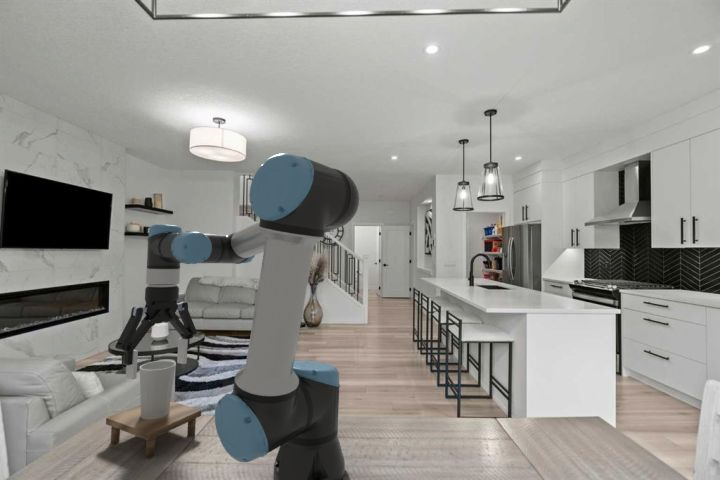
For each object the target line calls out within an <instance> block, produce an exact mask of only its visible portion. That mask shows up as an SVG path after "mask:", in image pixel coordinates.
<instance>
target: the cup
mask: <svg viewBox="0 0 720 480" xmlns="http://www.w3.org/2000/svg"><path fill="white" fill-rule="evenodd" d="M176 365H177V362H176V361H172V360H156V361H150V362H146V363H144V364H142V365H140V366H139V388H140V389H139V390H140V405H141V418H142V419H146V420H151V419H158V418H161V417H164V416H166V415H168V414H169V412H170V402H171V401H172V394H173V393H172V392H173V386H174V378H175V373H176Z"/></svg>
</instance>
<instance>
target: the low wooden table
mask: <svg viewBox="0 0 720 480" xmlns="http://www.w3.org/2000/svg"><path fill="white" fill-rule="evenodd" d="M201 416H202V409H200V408H196V407H192V406H189V405H185V404H182V403H179V402H175V401H172V400H171V402H170V412H169V414H168V415H166V416H164V417H161V418H158V419H151V420H146V419H142V418H141V404H140V405H137V406H134V407H131V408H129V409H127V410H124V411H121V412H118V413H115V414H113V415H111V416H108V417H106V418H105V425H106V426H109V427H111V428H110V431H111V432H110V444H111V445H115V444H118V443H120V439H121V431H123V432H126V433H128V434H132V435H134V436H136V437H139V438H141V439H144V440H145V456H144V457H145V459H152V458H154V457H155V455H156V453H155V451H156V438H157V437H159V436H161V435H163V434H166V433H168V432H170V431H172V430H175V429H176V428H179V427H180V426H183V425H185V424H187V431H186V432H187V433H186V435H187V437H189V438H191V437H194V436H195V435H196V420H197V418H199V417H201Z"/></svg>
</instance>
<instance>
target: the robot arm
mask: <svg viewBox="0 0 720 480" xmlns="http://www.w3.org/2000/svg"><path fill="white" fill-rule="evenodd" d="M248 195H249V203H250V204H251V207H250V208H251V210H252V213H254V215H256V216H257V217H258V218H259V221H256V222H254V223H252V224H250V225H248V226H246V227H243V228H242V229H240V230H237V231H235V232H233V233H231V234H216V233H205V232H204V233H203V232H201V231H191V230H187V231H183V230H182V227H181V226H179V225H173V224H151V225H150V227H149V229H148V237H147V239H146V240H147V254H146V257H147V258H146V259H147V260H146V272H145V273H146V275H145V284H146V285H147V286H146V287H144V288H145V289H144V301H145V306H144V307H140V306H139V307H138V306H133V307H132V308H131V312H130V317H129V319H128V320H127V323H126V324H125V326H124V328H123V330H122V332H121V334H120V336H119V338H118V340H117V342H116V343H115V349H116V350H120V351H121V350H122V351H123V364H124V365H125V366H126V369H125V378H127V379H131V380H136V379H137V374H138V372H137V371H138V357H139V356H138V354H139V350H138V349H136V347H137V346H138V345H140V342H141V341H142V340H143V338H145V336H146V334H147V333H148V332H149V331H150V329H151V328H152V327H154V326H155V324H162V323H170V324H171V326H172V327H173V328H174V330H176V332H177V333H178V334H179V335H180V337H179V338H177V339H178V340H177V357H176V358H177V360H176V361H177V362H176V364H181V365H186V364H187V363H188V361H187V359H188V350H190V340H191V339H193V337H194V336H195V335H196V334H197V333H198V332H197V329H196V328H197V327H196V326H195V324H194V321H193V319H192V315H191V314H190V313H191V312H189V303H188V301H178V300H179V297H180V293H179V292H180V287H179V286H178V284H180V279H181V278H180V277H181V276H180V275H181V264H185V265H190V264H191V265H197V264H235V265H241V264H247V263H250V262H252V261H253V259H254V258H255V256H256V255H259V254H261V253H262V254H263V255H262V260H261V261H262V263H261V266H260V267H261V268H260V273H259V280H258V286H257V293H256V300H255V304H254V312H253V317H252V323H251V328H250V329H251V331H250V338H249V343H248V349H247V355H246V360H245V366H244V367H242V368H241V369H239V370H238V371H237V372H236V373H235V376H234V382H233V386H232V387H233V388H232V392H231V393H225V394H224V395H223V396H222V397H221V398H220V399H219V400H218V401H217V403H216V406H215V411H214V424H215V430H216V432H217V436H218V438H219V441H220V443H221V445H222V447H223V448H224V450H225V451H226V452H227V454H228V455H229V456H230V457H231V458H233V459H234V460H236V461H237V462H240V463H249V462H252V461H255V460H257V459H259V458H264V457H265V456H267V454H268V453H271V452H272V451H274V450H276V449H278V448H279V449H278V450H277V451H278V452H277V455H276V457H275V459H274V463H273V474H272V475H273V480H341V479H342V478H343V476H344V477H345V473H344V472H346V471H345V469H346V467H345V466H346V462H345V457H344V453H343V451H342V446H341V443H340V440H339V439H340V438H339V436H338V435H339V434H338V433H339V431H338V429H339V404H340V388H341V385H340V372H339V370H338V368H337V367H336V366H334V365H332V364H330V363H326V362H323V361H322V362H321V361H314V360H313V361H312V360H296V361H295V359H296V353H297V348H298V342H299V338H300V337H299V336H300V329H301V323H302V318H303V312H304V306H305V301H306V300H305V299H306V294H307V287H308V284H309V283H308V281H309V276H310V272H311V271H310V270H311V266H312V265H311V264H312V260H313V259H312V258H313V251H314V247H315V246H316V245H317V244H318V243H319V242H320V241H322V240H323V239H324V238H325V234H326V233H329V232H331V231H334V230H337V229H340V228H342V227H343V226H345V225H347V224H348V223H350V222H351V220H352V219H354V217H355V215H356V214H357V211H358V209H359V205H360V194H359V189H358V187H357V185H356V183H355V181H354V180H353V179H352V177H350V176H349V174H347V173H345V172H343V171H341V170H339V169H338V168H332V167H330V166H327V165H326V164H325V165H324V164H323V163H319V162H317V161H314V160H313V159H312V160H311V159H309V158H307V157H305V156H300V155H294V154H290V153H278V154H275V155H273V156H271V157H268V158H267V159H266V160H265V162H264V163H263V164H261V165H260V166H259V167H258V169H257V170H256V172H255V173H254V176H253V178H252V180H251V184H250V187H249V193H248ZM177 301H178V302H177ZM177 311H178V314H179V316H178V314H177V313H176V312H177ZM143 316H144V317H143ZM180 319H181V320H180ZM140 322H141V323H140ZM343 479H344V478H343Z"/></svg>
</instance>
